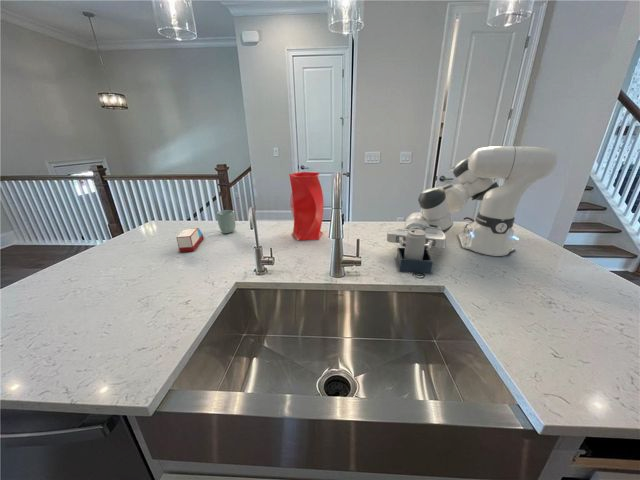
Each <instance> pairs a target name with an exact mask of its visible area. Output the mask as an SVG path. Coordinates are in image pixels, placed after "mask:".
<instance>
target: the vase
mask: <svg viewBox="0 0 640 480" xmlns="http://www.w3.org/2000/svg"><path fill="white" fill-rule="evenodd" d="M320 175H321V172H312V171H301V172H293V173H289V174H288V176H289V181H290V187H291V194H290V201H289V202H290V203H289V205H290V211H291V213H292V216H293V231H292V235H293V237H294V238H295V239H296V240H297V241H316V240H317V241H318V240H319V239H320V237H321V235H322V233H323V232H322V230H321V229H322V223H323V217H324V193H323V189H322V184H321V182H320V179H319V176H320Z"/></svg>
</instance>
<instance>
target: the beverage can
mask: <svg viewBox="0 0 640 480" xmlns="http://www.w3.org/2000/svg"><path fill="white" fill-rule="evenodd" d="M425 234H426V232H425V231H423V230H419V229H410V230H408V233H407V234H406V245H405V247H404V248H405V250H404V259H406V260H423V255H424V247H425V242H426V235H425Z"/></svg>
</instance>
